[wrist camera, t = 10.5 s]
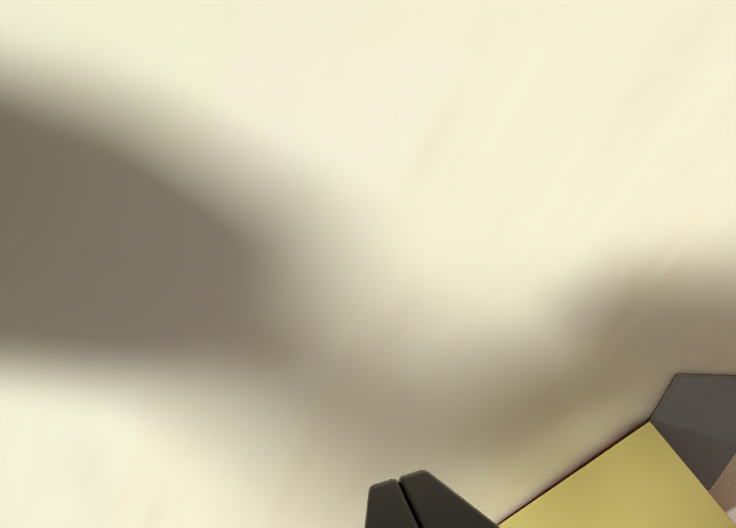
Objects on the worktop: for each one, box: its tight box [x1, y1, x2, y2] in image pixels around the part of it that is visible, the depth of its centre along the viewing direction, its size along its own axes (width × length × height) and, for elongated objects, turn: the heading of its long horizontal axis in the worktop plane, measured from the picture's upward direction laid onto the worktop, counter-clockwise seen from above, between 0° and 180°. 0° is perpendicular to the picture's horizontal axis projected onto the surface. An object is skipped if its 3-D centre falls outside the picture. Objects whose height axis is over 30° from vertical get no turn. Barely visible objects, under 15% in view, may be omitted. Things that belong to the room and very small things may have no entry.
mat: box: [648, 374, 736, 490], centre depth 33 cm, size 7×8×1 cm
